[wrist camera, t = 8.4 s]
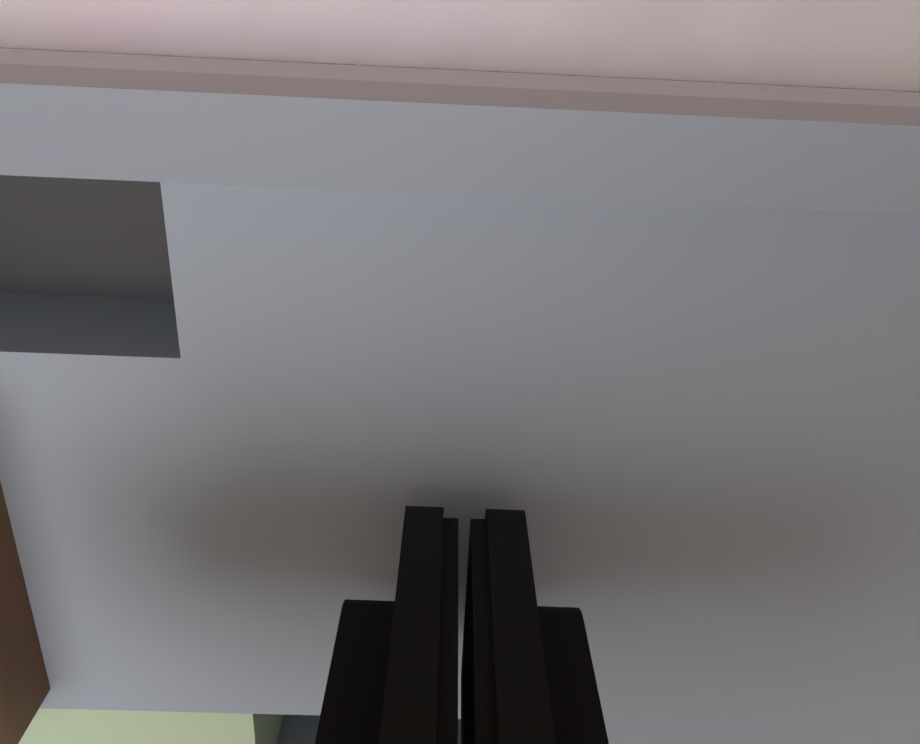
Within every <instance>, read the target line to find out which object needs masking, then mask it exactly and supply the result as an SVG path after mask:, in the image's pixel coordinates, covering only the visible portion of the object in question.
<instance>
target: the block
mask: <svg viewBox="0 0 920 744" xmlns="http://www.w3.org/2000/svg"><path fill="white" fill-rule="evenodd" d="M50 689H51V688H50V684H49V680H48V676H47V671H46V667H45V663H44V659H43V655H42V651H41V647H40V642H39V638H38V634H37V630H36V626H35V622H34V618H33V613H32V609H31V605H30V601H29V597H28V593H27V589H26V584H25V580H24V576H23V572H22V568H21V564H20V560H19V556H18V551H17V547H16V543H15V539H14V535H13V531H12V527H11V522H10V518H9V514H8V510H7V506H6V502H5V498H4V493H3V489H2V485H1V481H0V744H18V743H19V741H20V740H21V738H22V736H23V735H24V733H25V731H26V730H27V728H28V726H29V725H30V723H31V721H32V720H33V718H34V716H35V714H36V713H37V711H38V709H39V708H40V706H41V704H42V703H43V701H44V699H45V698H46V696H47V694H48V693H49V691H50Z"/></svg>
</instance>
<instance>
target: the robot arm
mask: <svg viewBox="0 0 920 744" xmlns="http://www.w3.org/2000/svg"><path fill="white" fill-rule="evenodd" d="M443 514H444V507H426V506H406V507H405V514H404V523H403V532H402V541H401V550H400V559H399V568H398V577H397V586H396V595H395V601H377V600H349V599H345V600H344V602H343V605H342V609H341V614H340V619H339V624H338V629H337V634H336V639H335V644H334V649H333V654H332V659H331V664H330V669H329V674H328V679H327V684H326V689H325V694H324V699H323V704H322V709H321V714H320V719H319V724H318V729H317V734H316V740H315V744H458V551H459V519H458V518H443ZM461 744H609V742H608V737H607V732H606V727H605V722H604V717H603V712H602V707H601V702H600V697H599V693H598V688H597V683H596V678H595V673H594V668H593V663H592V658H591V653H590V648H589V643H588V638H587V633H586V629H585V624H584V619H583V615H582V612H581V610H580V609H579V608H576V607H547V606H537V599H536V591H535V583H534V576H533V568H532V560H531V553H530V545H529V537H528V529H527V522H526V515H525V511H524V510H506V509H486V512H485V519H471V520H470V533H469V550H468V566H467V582H466V599H465V615H464V632H463V648H462V665H461Z"/></svg>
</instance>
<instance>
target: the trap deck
mask: <svg viewBox="0 0 920 744" xmlns="http://www.w3.org/2000/svg"><path fill="white" fill-rule="evenodd" d="M0 481H1V485H2V489H3V493H4V498H5V502H6V506H7V510H8V514H9V518H10V522H11V527H12V531H13V535H14V539H15V543H16V547H17V551H18V556H19V560H20V564H21V568H22V572H23V576H24V580H25V584H26V589H27V593H28V597H29V601H30V605H31V609H32V613H33V618H34V622H35V626H36V630H37V634H38V638H39V642H40V647H41V651H42V655H43V659H44V663H45V667H46V671H47V676H48V680H49V684H50V688H51V689H50V691H49V693H48V694H47V696H46V698H45V699H44V701H43V703H42V704H41V706H40V708H39V709H38V711H37V713H36V714H35V716H34V718H33V720H32V721H31V723H30V725H29V726H28V728H27V730H26V731H25V733H24V735H23V736H22V738H21V740H20V741H19V743H18V744H315V740H316V734H317V729H318V724H319V719H320V714H321V709H322V704H323V699H324V694H325V689H326V684H327V679H328V674H329V669H330V664H331V659H332V654H333V649H334V644H335V639H336V634H337V629H338V624H339V619H340V614H341V609H342V605H343V602H344V600H345V599H349V600H377V601H395V595H396V586H397V577H398V568H399V559H400V550H401V541H402V532H403V523H404V514H405V507H406V506H426V507H444V514H443V518H458V519H459V551H458V744H461V665H462V648H463V632H464V615H465V599H466V582H467V566H468V550H469V533H470V520H471V519H485V512H486V509H506V510H524V511H525V515H526V522H527V529H528V537H529V545H530V553H531V560H532V568H533V576H534V583H535V591H536V599H537V606H547V607H576V608H579V609H580V610H581V612H582V615H583V619H584V624H585V629H586V633H587V638H588V643H589V648H590V653H591V658H592V663H593V668H594V673H595V678H596V683H597V688H598V693H599V697H600V702H601V707H602V712H603V717H604V722H605V727H606V732H607V737H608V742H609V744H920V92H908V91H888V90H867V89H846V88H825V87H805V86H784V85H763V84H742V83H722V82H701V81H680V80H660V79H639V78H618V77H597V76H577V75H556V74H535V73H514V72H494V71H473V70H452V69H431V68H411V67H390V66H369V65H348V64H328V63H307V62H286V61H265V60H245V59H224V58H203V57H182V56H162V55H141V54H120V53H99V52H79V51H58V50H37V49H16V48H0Z"/></svg>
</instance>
